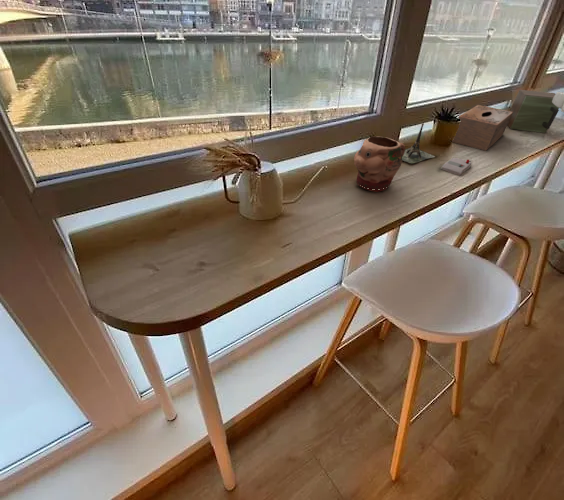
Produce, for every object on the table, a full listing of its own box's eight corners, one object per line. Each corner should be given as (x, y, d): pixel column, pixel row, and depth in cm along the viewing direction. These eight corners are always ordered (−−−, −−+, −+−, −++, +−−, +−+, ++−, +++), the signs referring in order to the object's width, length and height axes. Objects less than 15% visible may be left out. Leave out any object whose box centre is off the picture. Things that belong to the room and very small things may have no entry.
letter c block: (549, 136, 145) (568, 102, 136) (513, 132, 148) (529, 99, 139) (545, 132, 149) (563, 99, 141) (510, 128, 152) (525, 95, 144)
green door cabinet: (544, 132, 150) (563, 98, 141) (510, 128, 153) (525, 95, 144) (537, 125, 158) (554, 92, 149) (504, 121, 161) (519, 89, 152)
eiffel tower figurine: (413, 148, 129) (423, 112, 120) (435, 156, 123) (448, 120, 114) (388, 155, 122) (397, 119, 113) (411, 165, 115) (422, 127, 107)
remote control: (438, 170, 113) (441, 162, 111) (455, 158, 122) (459, 150, 120) (457, 177, 109) (461, 168, 107) (474, 164, 118) (477, 156, 116)
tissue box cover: (486, 150, 129) (497, 125, 123) (449, 141, 136) (458, 116, 130) (502, 135, 144) (513, 111, 138) (469, 127, 152) (477, 104, 145)
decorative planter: (380, 169, 112) (389, 128, 103) (410, 182, 105) (423, 140, 96) (339, 184, 102) (346, 140, 93) (369, 200, 95) (380, 154, 86)
